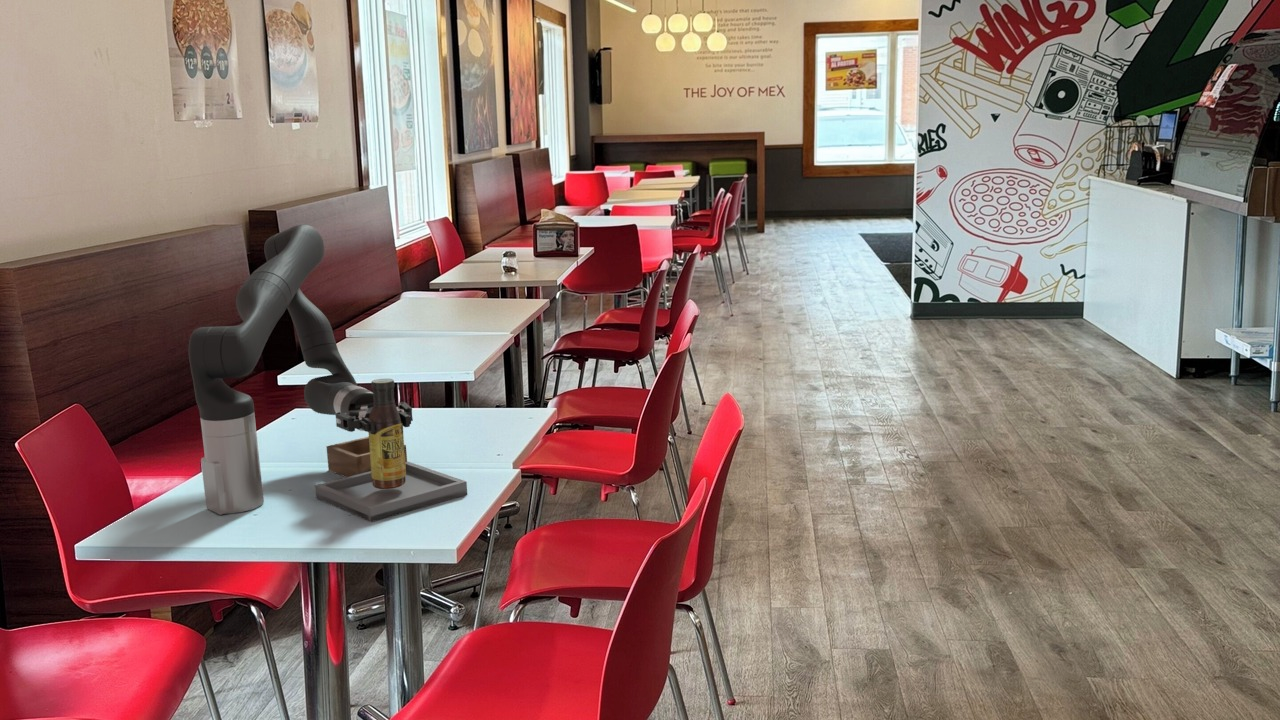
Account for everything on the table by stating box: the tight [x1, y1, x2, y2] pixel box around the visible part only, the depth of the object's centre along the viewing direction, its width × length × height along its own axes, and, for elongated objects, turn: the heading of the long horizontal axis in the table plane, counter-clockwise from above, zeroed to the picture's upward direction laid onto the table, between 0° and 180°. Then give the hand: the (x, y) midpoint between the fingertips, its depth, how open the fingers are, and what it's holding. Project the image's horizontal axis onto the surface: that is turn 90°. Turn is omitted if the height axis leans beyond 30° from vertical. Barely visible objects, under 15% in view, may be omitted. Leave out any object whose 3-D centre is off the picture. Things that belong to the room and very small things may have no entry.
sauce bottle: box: [368, 378, 406, 489], centre depth 208 cm, size 6×6×20 cm
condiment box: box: [325, 436, 408, 478], centre depth 227 cm, size 11×12×5 cm
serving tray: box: [314, 461, 468, 523], centre depth 210 cm, size 20×20×2 cm
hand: (390, 424), depth 205 cm, fingers closed on sauce bottle, 6 cm apart
